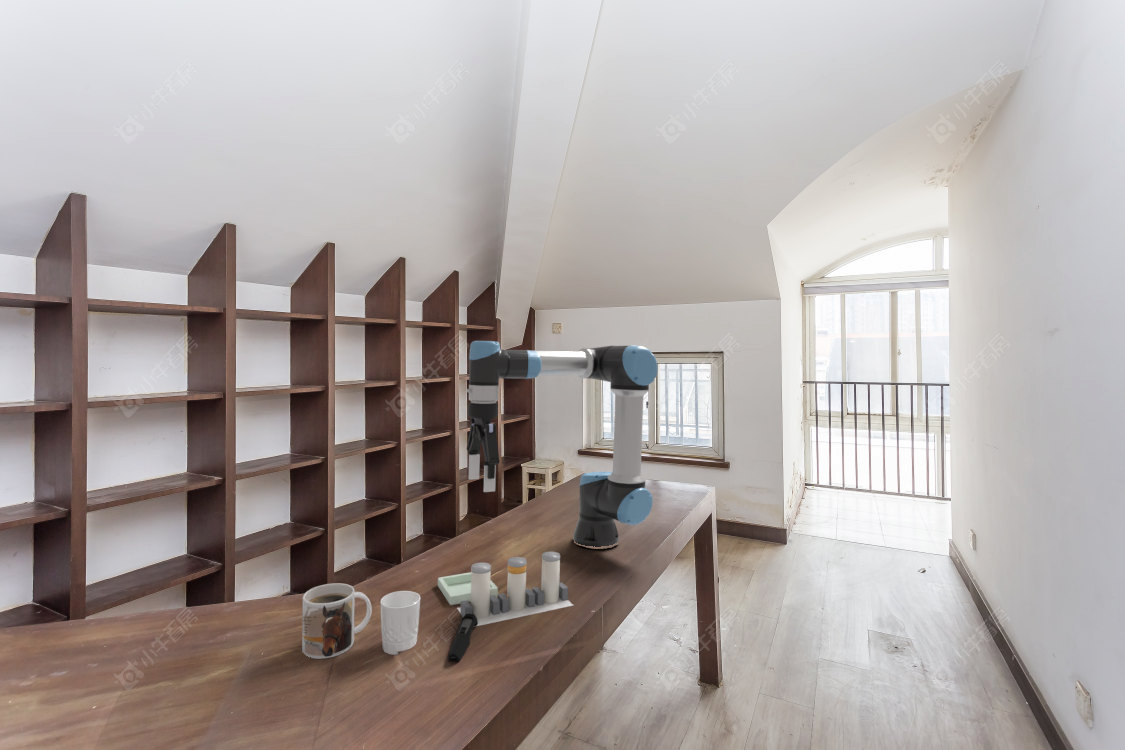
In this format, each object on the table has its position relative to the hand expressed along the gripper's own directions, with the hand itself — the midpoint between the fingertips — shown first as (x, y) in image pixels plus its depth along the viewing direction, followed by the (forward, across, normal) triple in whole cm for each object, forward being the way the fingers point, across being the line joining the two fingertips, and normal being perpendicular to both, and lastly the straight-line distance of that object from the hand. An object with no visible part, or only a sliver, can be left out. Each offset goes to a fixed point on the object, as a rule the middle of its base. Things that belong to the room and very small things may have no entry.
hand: (481, 485), depth 137 cm
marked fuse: (+27, +13, +5) cm, 30 cm away
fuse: (+27, +13, -4) cm, 30 cm away
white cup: (+28, +19, -22) cm, 40 cm away
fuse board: (+28, +13, +5) cm, 31 cm away
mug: (+28, +13, -35) cm, 46 cm away
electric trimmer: (+27, +24, -10) cm, 37 cm away
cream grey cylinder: (+27, +13, +14) cm, 33 cm away
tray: (+28, 0, -3) cm, 28 cm away
